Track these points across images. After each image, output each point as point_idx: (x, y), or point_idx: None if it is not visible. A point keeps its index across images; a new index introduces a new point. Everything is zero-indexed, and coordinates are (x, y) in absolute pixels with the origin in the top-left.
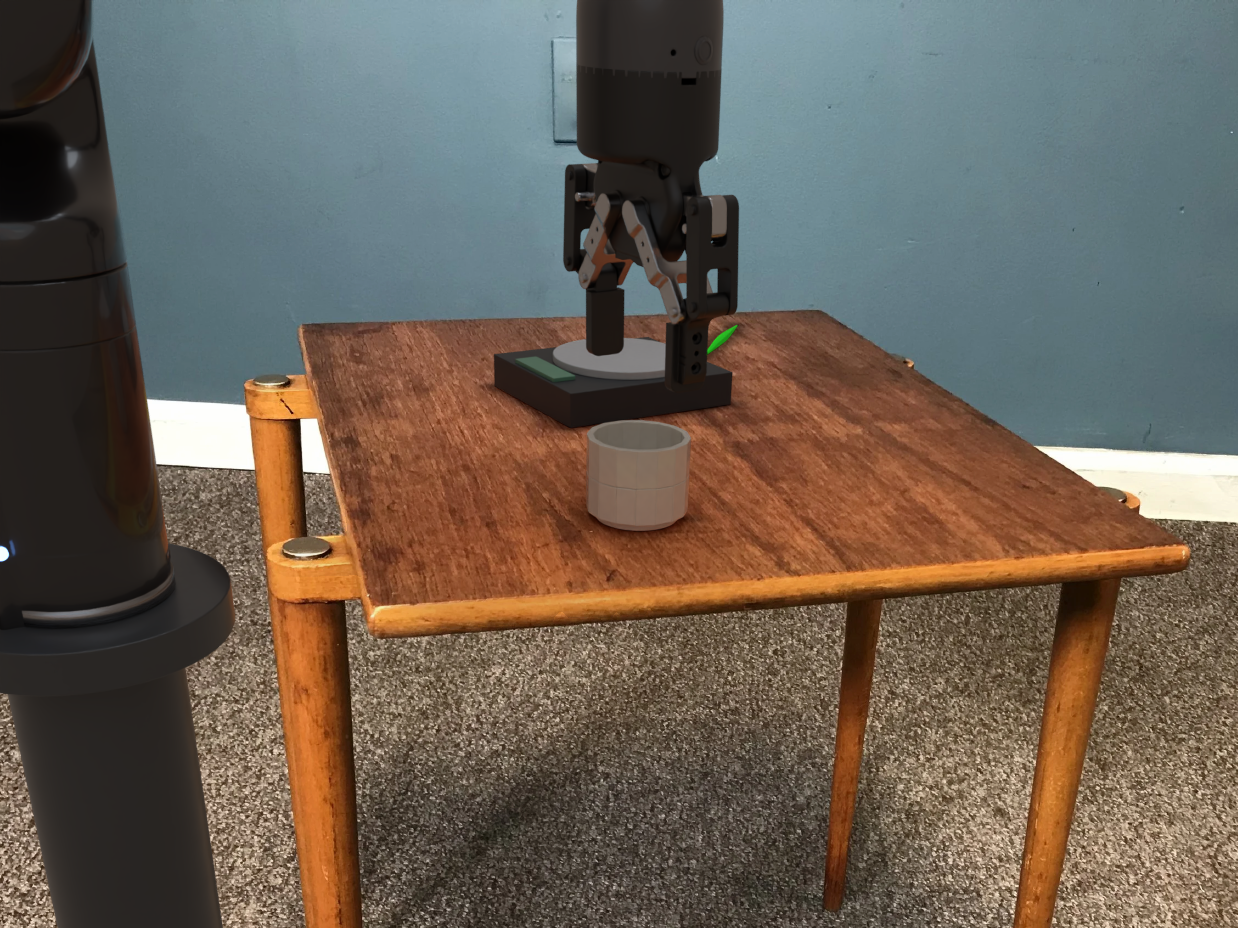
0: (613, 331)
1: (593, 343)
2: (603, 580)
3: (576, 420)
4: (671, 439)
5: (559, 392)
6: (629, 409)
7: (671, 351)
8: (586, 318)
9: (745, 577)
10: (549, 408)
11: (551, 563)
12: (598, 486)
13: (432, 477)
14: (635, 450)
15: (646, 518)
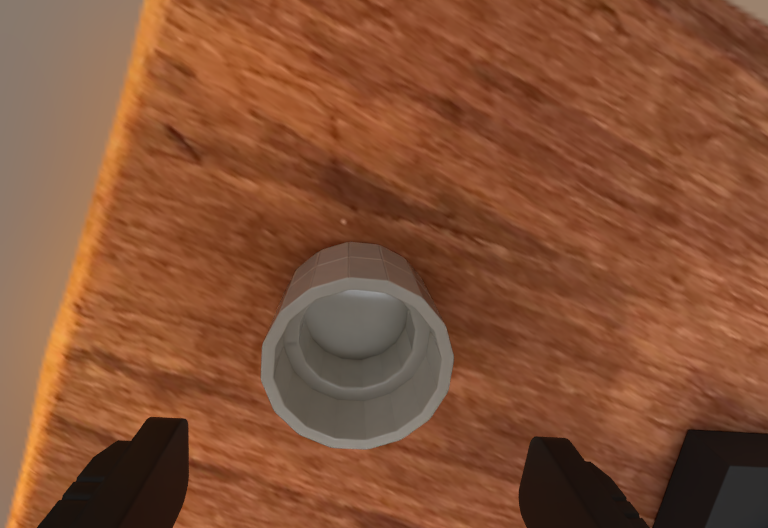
0: (545, 526)
1: (548, 455)
2: (173, 123)
3: (692, 444)
4: (363, 425)
5: (755, 461)
6: (669, 520)
7: (101, 489)
8: (609, 499)
9: (91, 296)
10: (755, 440)
11: (268, 96)
12: (351, 255)
13: (667, 149)
14: (287, 314)
15: (287, 286)
